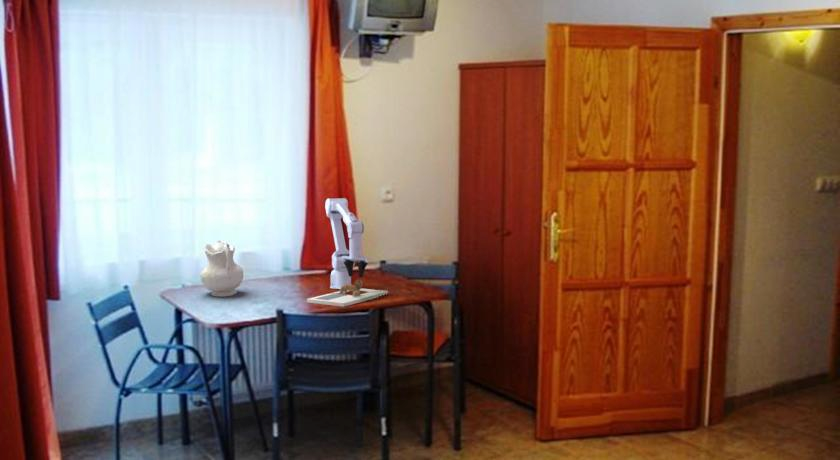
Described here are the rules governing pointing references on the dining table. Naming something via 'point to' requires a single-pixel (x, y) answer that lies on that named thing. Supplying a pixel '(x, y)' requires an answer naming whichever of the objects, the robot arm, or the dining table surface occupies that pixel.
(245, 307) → the dining table surface
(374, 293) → the shutter
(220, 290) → the ceramic pitcher
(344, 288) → the lion figurine
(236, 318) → the dining table surface
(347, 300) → the puzzle board
